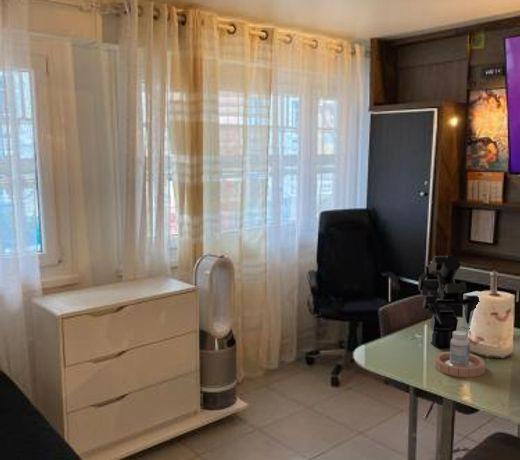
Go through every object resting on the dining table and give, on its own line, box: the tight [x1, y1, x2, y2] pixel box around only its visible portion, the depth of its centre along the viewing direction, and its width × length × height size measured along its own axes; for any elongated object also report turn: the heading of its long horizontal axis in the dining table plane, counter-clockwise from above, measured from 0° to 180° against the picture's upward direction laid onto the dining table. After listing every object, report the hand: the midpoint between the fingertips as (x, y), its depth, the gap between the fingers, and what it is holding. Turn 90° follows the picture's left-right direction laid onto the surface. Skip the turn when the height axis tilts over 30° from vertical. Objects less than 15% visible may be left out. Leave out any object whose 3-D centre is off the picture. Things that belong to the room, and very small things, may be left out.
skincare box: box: [461, 290, 481, 330], centre depth 224 cm, size 8×6×15 cm
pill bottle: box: [449, 330, 470, 367], centre depth 182 cm, size 6×6×11 cm
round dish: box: [433, 350, 486, 378], centre depth 183 cm, size 16×16×3 cm
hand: (454, 323), depth 188 cm, fingers open, 9 cm apart
